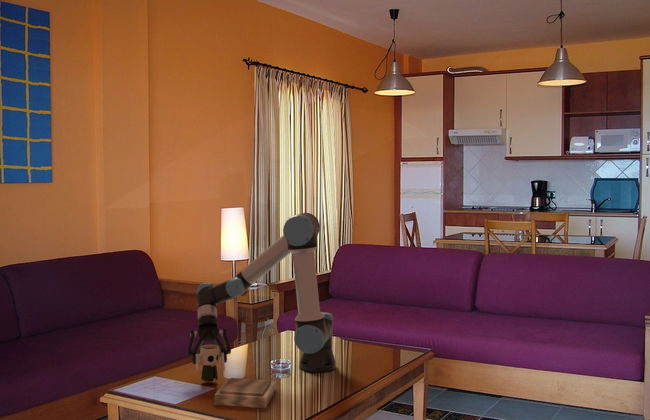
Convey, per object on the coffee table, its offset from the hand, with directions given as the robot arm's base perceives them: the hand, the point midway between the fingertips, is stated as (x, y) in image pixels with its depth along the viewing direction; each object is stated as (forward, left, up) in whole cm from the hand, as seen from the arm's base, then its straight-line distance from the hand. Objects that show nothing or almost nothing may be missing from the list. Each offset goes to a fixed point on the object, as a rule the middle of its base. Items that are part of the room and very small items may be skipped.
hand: (210, 370), depth 251 cm
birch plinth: (-16, +10, -6) cm, 20 cm away
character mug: (+1, -3, -5) cm, 6 cm away
